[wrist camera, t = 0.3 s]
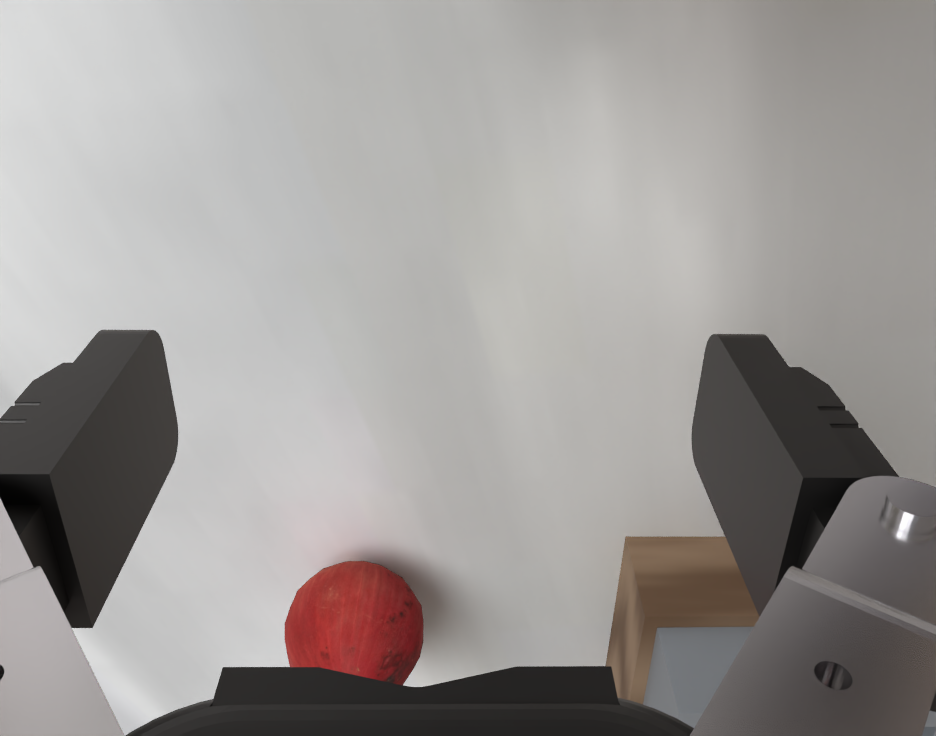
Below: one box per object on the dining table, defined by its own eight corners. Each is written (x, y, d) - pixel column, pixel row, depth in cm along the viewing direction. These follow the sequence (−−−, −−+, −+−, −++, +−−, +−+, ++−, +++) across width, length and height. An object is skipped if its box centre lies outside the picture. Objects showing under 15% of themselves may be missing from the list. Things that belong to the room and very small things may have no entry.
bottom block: (624, 530, 39) (645, 616, 34) (883, 530, 39) (936, 616, 35) (598, 696, 45) (613, 786, 41) (821, 695, 45) (859, 784, 41)
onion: (425, 521, 38) (419, 672, 31) (426, 610, 41) (420, 765, 34) (294, 520, 38) (259, 672, 31) (304, 610, 41) (275, 766, 34)
